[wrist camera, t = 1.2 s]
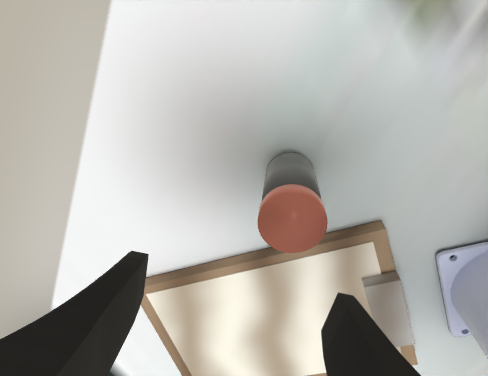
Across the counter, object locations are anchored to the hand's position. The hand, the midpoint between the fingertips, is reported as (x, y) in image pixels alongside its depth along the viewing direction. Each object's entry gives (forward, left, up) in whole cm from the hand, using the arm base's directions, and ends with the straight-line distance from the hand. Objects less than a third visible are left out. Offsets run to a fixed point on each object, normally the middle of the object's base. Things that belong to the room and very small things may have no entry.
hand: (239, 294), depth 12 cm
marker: (-2, 0, -12) cm, 12 cm away
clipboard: (+3, +12, -12) cm, 17 cm away
